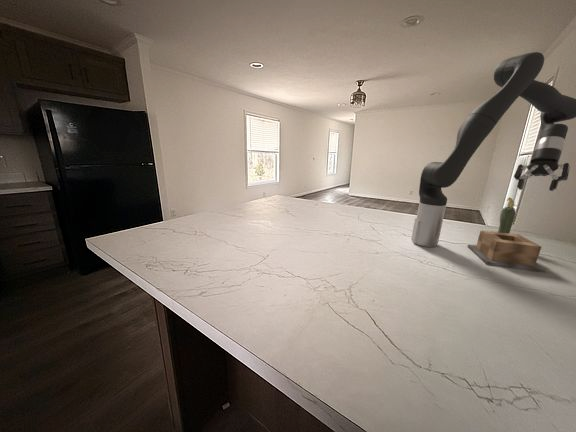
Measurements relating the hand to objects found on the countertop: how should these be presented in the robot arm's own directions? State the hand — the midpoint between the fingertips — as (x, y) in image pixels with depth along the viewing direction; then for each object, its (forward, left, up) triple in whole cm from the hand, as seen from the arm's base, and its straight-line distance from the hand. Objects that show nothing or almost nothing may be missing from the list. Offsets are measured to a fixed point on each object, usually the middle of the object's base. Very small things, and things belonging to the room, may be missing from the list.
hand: (535, 189), depth 90 cm
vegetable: (-7, -2, -24) cm, 25 cm away
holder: (-13, -18, -24) cm, 33 cm away
